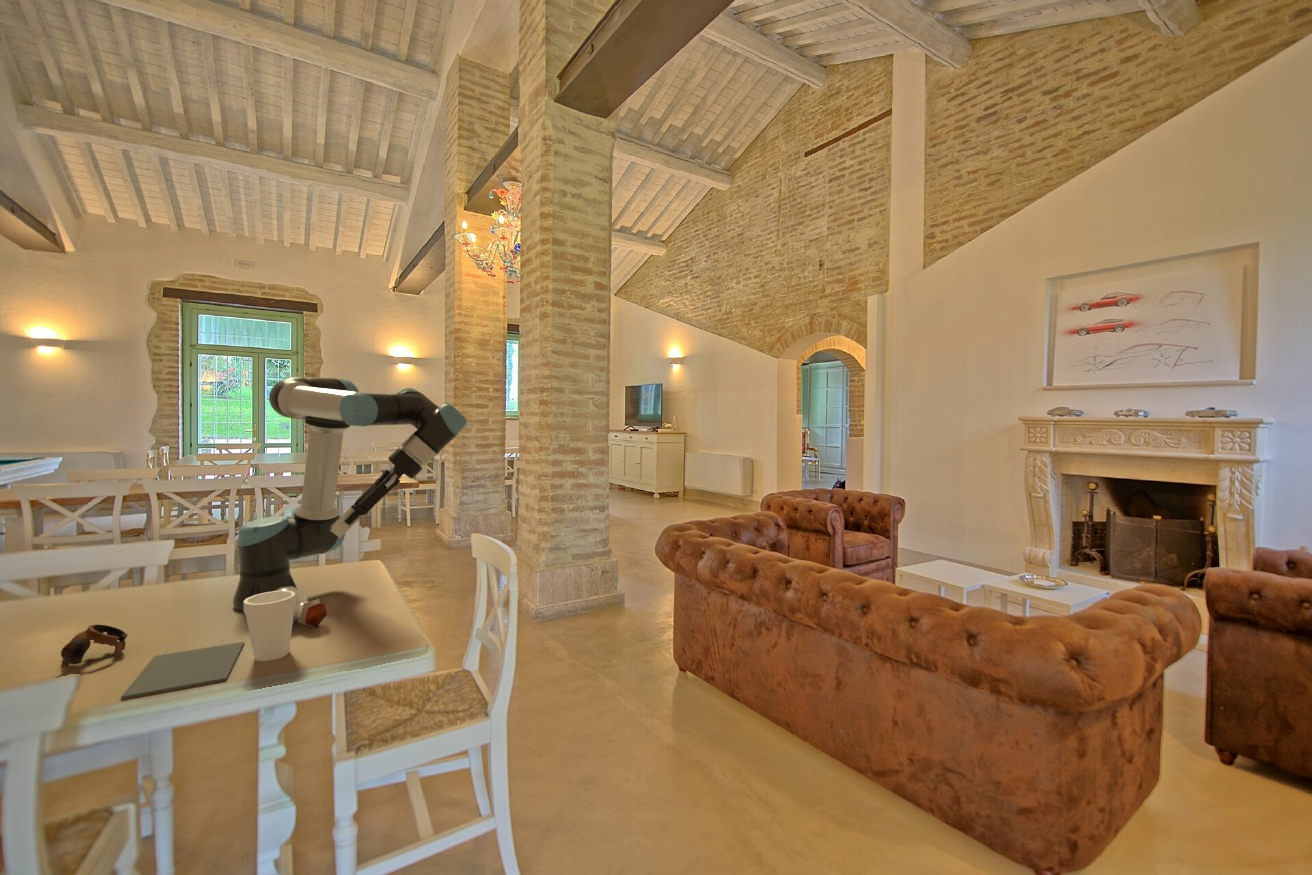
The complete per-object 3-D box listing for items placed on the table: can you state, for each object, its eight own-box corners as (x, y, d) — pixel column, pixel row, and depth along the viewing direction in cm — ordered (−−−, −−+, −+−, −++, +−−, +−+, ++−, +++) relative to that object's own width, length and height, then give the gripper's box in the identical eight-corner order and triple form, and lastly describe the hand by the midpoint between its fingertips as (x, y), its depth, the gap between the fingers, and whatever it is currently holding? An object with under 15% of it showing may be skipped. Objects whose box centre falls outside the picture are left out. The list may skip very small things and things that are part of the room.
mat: (244, 644, 132) (244, 641, 132) (226, 680, 114) (226, 677, 114) (154, 658, 124) (154, 655, 124) (121, 699, 107) (120, 696, 107)
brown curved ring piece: (77, 655, 127) (101, 619, 130) (119, 671, 128) (142, 636, 131) (32, 664, 116) (60, 625, 118) (79, 682, 117) (106, 643, 119)
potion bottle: (274, 624, 148) (320, 637, 143) (245, 614, 140) (293, 627, 135) (294, 590, 152) (339, 601, 148) (268, 578, 144) (314, 590, 140)
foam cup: (302, 654, 126) (300, 596, 125) (252, 668, 119) (249, 607, 119) (289, 642, 133) (287, 587, 132) (241, 655, 126) (239, 597, 125)
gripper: (427, 470, 131) (348, 550, 124) (420, 464, 146) (349, 535, 139) (401, 448, 129) (319, 528, 122) (397, 444, 143) (323, 515, 137)
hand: (335, 531), depth 131 cm, fingers open, 4 cm apart
